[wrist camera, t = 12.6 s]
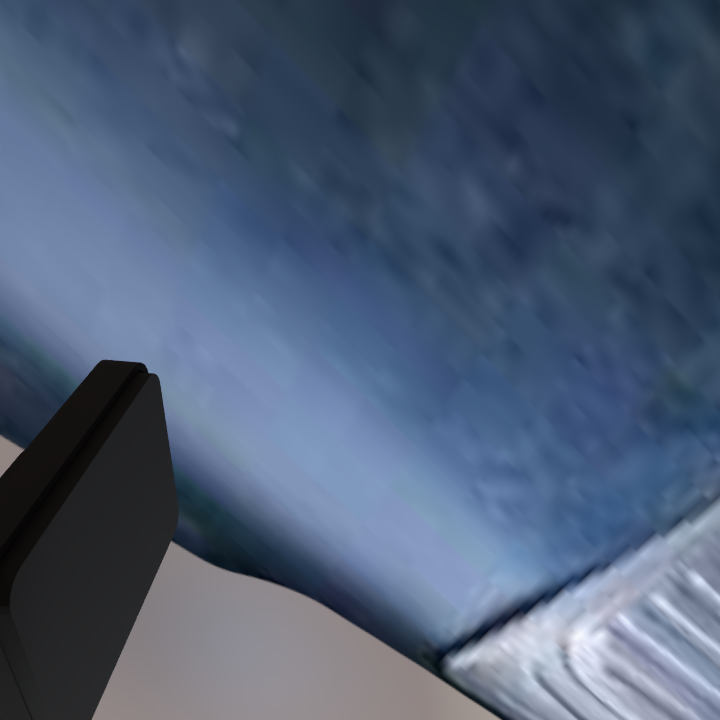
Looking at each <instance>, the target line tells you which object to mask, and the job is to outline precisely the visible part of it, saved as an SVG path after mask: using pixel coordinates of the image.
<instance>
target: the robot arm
mask: <svg viewBox="0 0 720 720" xmlns="http://www.w3.org/2000/svg"><path fill="white" fill-rule="evenodd" d="M178 512H179V511H178V502H177V495H176V488H175V481H174V474H173V468H172V461H171V454H170V447H169V441H168V434H167V427H166V420H165V413H164V407H163V400H162V393H161V386H160V381H159V378H158V376H157V375H156V374H152V373H148V370H147V368H146V366H145V365H144V364H143V363H139V362H127V361H114V360H102V361H100V362H99V363H98V364H97V365H96V366H95V367H94V369H93V370H92V371H91V372H90V373H89V375H88V376H87V377H86V378H85V379H84V381H83V382H82V383H81V384H80V385H79V387H78V388H77V389H76V390H75V391H74V392H73V394H72V395H71V396H70V397H69V398H68V400H67V401H66V402H65V403H64V404H63V406H62V407H61V408H60V409H59V410H58V412H57V413H56V414H55V415H54V416H53V418H52V419H51V420H50V421H49V422H48V424H47V425H46V426H45V427H44V428H43V430H42V431H41V432H40V433H39V434H38V436H37V437H36V438H35V439H34V440H33V441H32V443H31V444H30V445H29V446H28V447H27V449H25V450H24V451H23V452H22V453H21V454H20V455H19V456H18V457H17V459H16V460H15V461H14V462H13V463H12V464H11V466H10V467H9V468H8V469H7V470H6V472H5V473H4V474H3V475H2V476H1V478H0V720H91V719H92V717H93V715H94V712H95V710H96V708H97V706H98V704H99V702H100V699H101V697H102V695H103V693H104V690H105V688H106V686H107V684H108V681H109V679H110V677H111V674H112V672H113V670H114V668H115V666H116V663H117V661H118V659H119V657H120V654H121V652H122V650H123V647H124V645H125V643H126V640H127V638H128V636H129V634H130V632H131V630H132V627H133V625H134V623H135V621H136V618H137V616H138V614H139V612H140V609H141V607H142V605H143V603H144V600H145V598H146V596H147V593H148V591H149V589H150V587H151V585H152V582H153V580H154V578H155V575H156V573H157V571H158V569H159V567H160V564H161V562H162V560H163V557H164V555H165V553H166V551H167V549H168V546H169V544H170V542H171V540H172V537H173V535H174V533H175V530H176V526H177V522H178Z"/></svg>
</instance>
